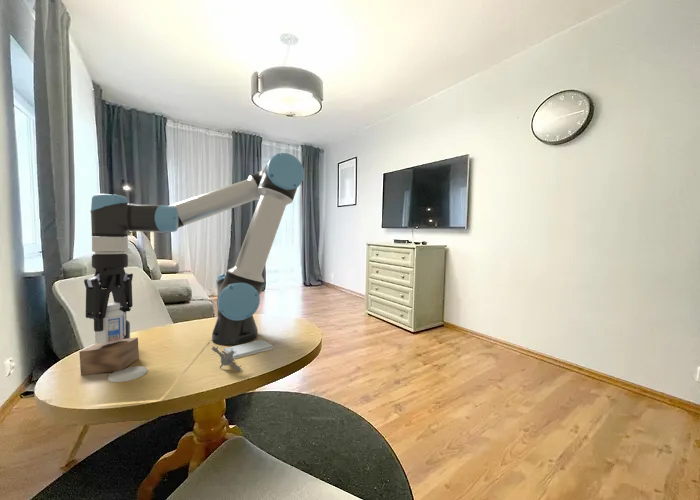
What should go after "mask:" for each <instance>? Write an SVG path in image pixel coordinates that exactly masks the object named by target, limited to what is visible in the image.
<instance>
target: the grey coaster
mask: <svg viewBox="0 0 700 500" xmlns="http://www.w3.org/2000/svg"><path fill="white" fill-rule="evenodd" d="M147 372H148V368H147V367H146V366H140V365H139V366H138V365H137V366H130V367H129V366H128V367H125V368H124V369H122V370H121V371H113V372H112V373H111V372H110V374H109V375H108V377H107V380H108V382H111V383H122V382H123V383H124V382H128V381H132V380H136V379H138V378H140V377H143V376H144V375H146V374H147Z"/></svg>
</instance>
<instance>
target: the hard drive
mask: <svg viewBox="0 0 700 500" xmlns="http://www.w3.org/2000/svg"><path fill="white" fill-rule="evenodd" d="M273 347H274V346H273V345H272V344H270V343H269V342H267V341H265V340H264V339H259V340H253V341H249V342H245V343H240V344H236V345H234V346H229V347H224V348H223V349H224V350H223V351H224V352H226V353H229V352H230V351H231V349H232V348H233V349H232V351H234V352H235V351H236V352H235V353H234V355H233V359H234V360H235V359H239V358H243V357H246V356H250V355H251V356H252V355H255V354H258V353H261V352H266V351H270V350H273Z"/></svg>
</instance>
